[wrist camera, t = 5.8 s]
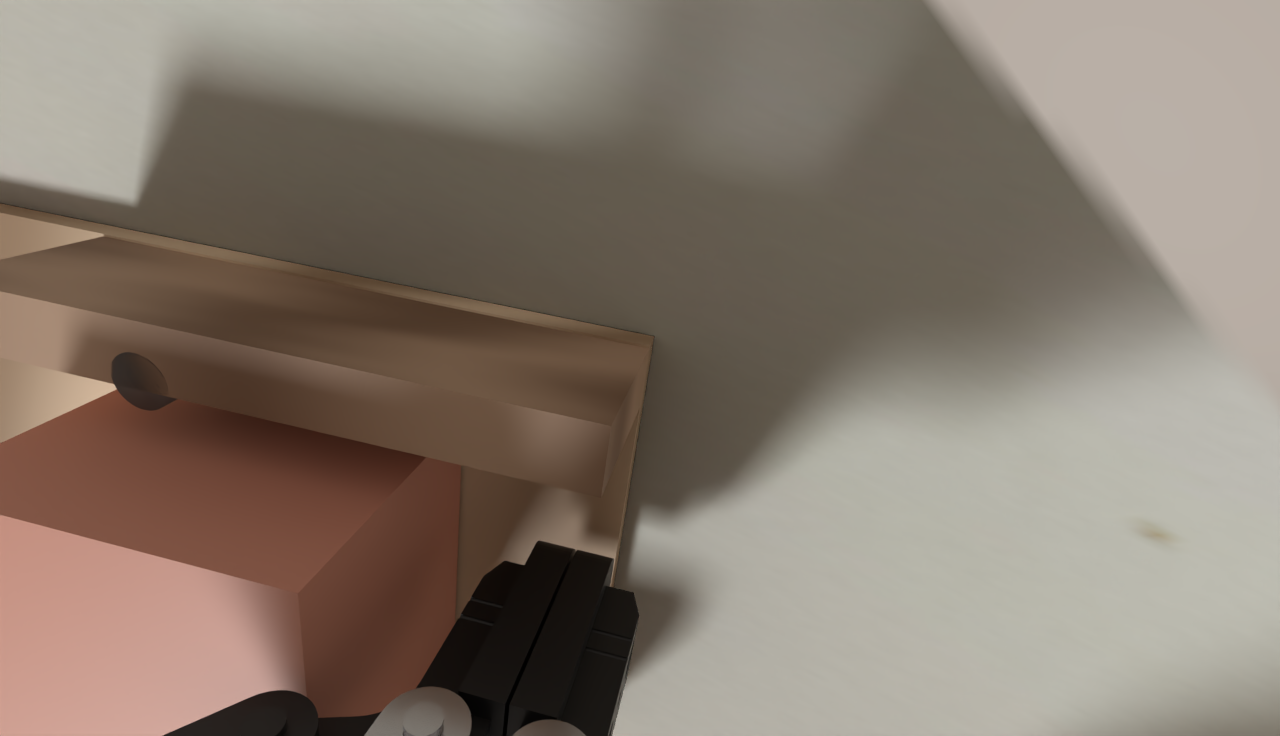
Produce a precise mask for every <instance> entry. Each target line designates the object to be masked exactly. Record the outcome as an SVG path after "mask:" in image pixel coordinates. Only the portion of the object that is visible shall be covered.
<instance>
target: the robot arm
mask: <svg viewBox="0 0 1280 736" xmlns="http://www.w3.org/2000/svg"><path fill="white" fill-rule="evenodd" d="M613 565H614V558H610V557H606V556H602V555H598V554H593V553H589V552H585V551H581V550H577V551H576V550H575V549H573V548H568V547H564V546H560V545H556V544H552V543H548V542H544V541H540V540H539V541H537V543H536V544H535V546H534V548H533V550H532V552H531V554H530V556H529V557H528V559H527V561H526V563H525V565H521V564H517V563H513V562H509V561H503V562H502V563H500V564H499V565H498V566H496V567H495V568H494V569H492V570H491V571H490V572H488V573H487V574H485V575H484V576H483V578H482V579H481V581H480V583H479V584H478V586H477V588H476V589H475V591H474V593H473V594H472V596H471V599H470V601H468V603H467V604H466V606H465V608H464V609H463V611H462V613H461V616H460V618H458V619H457V621H456V623H455V625H454V626H453V628H452V630H451V631H450V633H449V635H448V636H447V638H446V640H445V641H444V643H443V645H442V646H441V648H440V650H439V651H438V653H437V655H436V656H435V658H434V660H433V661H432V663H431V665H430V666H429V668H428V670H427V671H426V673H425V675H424V676H423V678H422V680H421V681H420V683H419V684H418V686H417V687H416V689H413V690H410V691H407V692H405V693H403V694H401V695H400V696H398V697H396V698H395V699H394V700H392V701H391V702H390V703H389V704H388V705H387V706H386V707H385V708H384V709H383V711H381V712H379V713H375V714H371V715H365V716H352V717H327V718H318V713H317V710H316V707H315V706H314V704H313V702H312V701H311V700H310V699H308V698H307V697H306V696H304V695H302V694H300V693H297V692H294V691H288V690H276V691H268V692H264V693H260V694H257V695H255V696H252V697H250V698H247V699H245V700H243V701H240V702H238V703H236V704H234V705H231V706H229V707H227V708H224V709H222V710H220V711H217V712H215V713H213V714H211V715H208V716H206V717H204V718H201V719H199V720H197V721H195V722H192V723H190V724H188V725H185V726H183V727H181V728H179V729H176V730H174V731H172V732H169V733H167V734H165V735H163V736H612V734H613V730H614V726H615V722H616V718H617V714H618V710H619V706H620V702H621V698H622V694H623V690H624V687H625V683H626V679H627V675H628V670H629V665H630V660H631V654H632V649H633V644H634V639H635V634H636V629H637V623H638V618H639V613H638V609H637V605H636V601H635V597H634V593H633V592H629V591H625V590H621V589H617V588H613V587H610V584H611V578H612V572H613Z"/></svg>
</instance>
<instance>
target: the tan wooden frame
mask: <svg viewBox="0 0 1280 736" xmlns="http://www.w3.org/2000/svg"><path fill="white" fill-rule="evenodd" d="M653 341H654V336H649V335H645V334H640V333H635V332H630V331H625V330H620V329H615V328H610V327H605V326H600V325H595V324H590V323H586V322H581V321H576V320H571V319H566V318H561V317H556V316H551V315H546V314H541V313H536V312H532V311H527V310H522V309H517V308H512V307H507V306H502V305H497V304H492V303H487V302H482V301H477V300H473V299H468V298H463V297H458V296H453V295H448V294H443V293H438V292H433V291H428V290H423V289H419V288H414V287H409V286H404V285H399V284H394V283H389V282H384V281H379V280H374V279H369V278H364V277H360V276H355V275H350V274H345V273H340V272H335V271H330V270H325V269H320V268H315V267H310V266H305V265H301V264H296V263H291V262H286V261H281V260H276V259H271V258H266V257H261V256H256V255H251V254H247V253H242V252H237V251H232V250H227V249H222V248H217V247H212V246H207V245H202V244H197V243H192V242H188V241H183V240H178V239H173V238H168V237H163V236H158V235H153V234H148V233H143V232H138V231H134V230H129V229H124V228H119V227H114V226H109V225H104V224H99V223H94V222H89V221H84V220H79V219H75V218H70V217H65V216H60V215H55V214H50V213H45V212H40V211H35V210H30V209H25V208H20V207H16V206H11V205H6V204H1V203H0V443H2V442H4V441H6V440H8V439H10V438H13V437H15V436H17V435H19V434H21V433H23V432H26V431H28V430H30V429H32V428H34V427H36V426H39V425H41V424H43V423H45V422H47V421H49V420H52V419H54V418H56V417H58V416H60V415H62V414H65V413H67V412H69V411H71V410H73V409H75V408H78V407H80V406H82V405H84V404H86V403H88V402H91V401H93V400H95V399H97V398H99V397H101V396H104V395H106V394H108V393H110V392H112V391H114V390H118V391H119V393H120V394H121V395H122V396H123V397H124V398H125V399H126V400H127V401H128V402H129V403H131V404H132V405H134V406H136V407H138V408H140V409H143V410H148V411H154V410H158V409H160V408H162V407H164V406H166V405H168V404H170V403H171V402H173V401H175V400H177V399H180V400H184V401H188V402H192V403H197V404H201V405H205V406H210V407H214V408H218V409H222V410H227V411H231V412H235V413H240V414H244V415H248V416H252V417H257V418H261V419H265V420H270V421H274V422H278V423H282V424H287V425H291V426H295V427H300V428H304V429H308V430H312V431H317V432H321V433H325V434H329V435H334V436H338V437H342V438H347V439H351V440H355V441H359V442H364V443H368V444H372V445H377V446H381V447H385V448H389V449H394V450H398V451H402V452H407V453H411V454H415V455H419V456H424V457H428V458H432V459H436V460H441V461H445V462H449V463H454V464H458V465H461V482H460V508H459V534H458V560H457V585H456V611H455V623H456V621H457V619H458V618H460V616H461V613H462V611H463V609H464V608H465V606H466V604H467V603H468V601H470V599H471V596H472V594H473V593H474V591H475V589H476V588H477V586H478V584H479V583H480V581H481V579H482V578H483V576H484V575H485V574H487V573H488V572H490V571H491V570H492V569H494V568H495V567H496V566H498V565H499V564H500V563H502V562H503V561H509V562H513V563H517V564H521V565H525V563H526V561H527V559H528V557H529V556H530V554H531V552H532V550H533V548H534V546H535V544H536V543H537V541H539V540H540V541H544V542H548V543H552V544H556V545H560V546H564V547H568V548H573V549H575V550H576V551H577V550H581V551H585V552H589V553H593V554H598V555H602V556H606V557H610V558H614V565H613V572H612V578H611V584H610V587H614V581H615V575H616V569H617V562H618V556H619V550H620V544H621V538H622V532H623V526H624V519H625V513H626V507H627V501H628V495H629V489H630V483H631V476H632V470H633V464H634V458H635V452H636V446H637V440H638V433H639V427H640V421H641V415H642V409H643V403H644V396H645V390H646V384H647V378H648V372H649V366H650V360H651V353H652V347H653Z"/></svg>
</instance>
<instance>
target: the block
mask: <svg viewBox="0 0 1280 736" xmlns="http://www.w3.org/2000/svg"><path fill="white" fill-rule="evenodd" d="M460 482H461V465H458V464H454V463H449V462H445V461H441V460H436V459H432V458H428V457H424V456H419V455H415V454H411V453H407V452H402V451H398V450H394V449H389V448H385V447H381V446H377V445H372V444H368V443H364V442H359V441H355V440H351V439H347V438H342V437H338V436H334V435H329V434H325V433H321V432H317V431H312V430H308V429H304V428H300V427H295V426H291V425H287V424H282V423H278V422H274V421H270V420H265V419H261V418H257V417H252V416H248V415H244V414H240V413H235V412H231V411H227V410H222V409H218V408H214V407H210V406H205V405H201V404H197V403H192V402H188V401H184V400H180V399H177V400H175V401H173V402H171V403H170V404H168V405H166V406H164V407H162V408H160V409H158V410H154V411H148V410H143V409H140V408H138V407H136V406H134V405H132V404H131V403H129V402H128V401H127V400H126V399H125V398H124V397H123V396H122V395H121V394H120V393H119V391H118V390H114V391H112V392H110V393H108V394H106V395H104V396H101V397H99V398H97V399H95V400H93V401H91V402H88V403H86V404H84V405H82V406H80V407H78V408H75V409H73V410H71V411H69V412H67V413H65V414H62V415H60V416H58V417H56V418H54V419H52V420H49V421H47V422H45V423H43V424H41V425H39V426H36V427H34V428H32V429H30V430H28V431H26V432H23V433H21V434H19V435H17V436H15V437H13V438H10V439H8V440H6V441H4V442H2V443H0V736H163V735H165V734H167V733H169V732H172V731H174V730H176V729H179V728H181V727H183V726H185V725H188V724H190V723H192V722H195V721H197V720H199V719H201V718H204V717H206V716H208V715H211V714H213V713H215V712H217V711H220V710H222V709H224V708H227V707H229V706H231V705H234V704H236V703H238V702H240V701H243V700H245V699H247V698H250V697H252V696H255V695H257V694H260V693H264V692H268V691H276V690H288V691H294V692H297V693H300V694H302V695H304V696H306V697H307V698H308V699H310V700H311V701H312V702H313V704H314V706H315V707H316V710H317V713H318V718H327V717H352V716H365V715H371V714H375V713H379V712H381V711H383V709H384V708H385V707H386V706H387V705H388V704H389V703H390V702H391V701H392V700H394V699H395V698H396V697H398V696H400V695H401V694H403V693H405V692H407V691H410V690H413V689H416V687H417V686H418V684H419V683H420V681H421V680H422V678H423V676H424V675H425V673H426V671H427V670H428V668H429V666H430V665H431V663H432V661H433V660H434V658H435V656H436V655H437V653H438V651H439V650H440V648H441V646H442V645H443V643H444V641H445V640H446V638H447V636H448V635H449V633H450V631H451V630H452V628H453V626H454V625H455V611H456V585H457V560H458V534H459V508H460Z"/></svg>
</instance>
